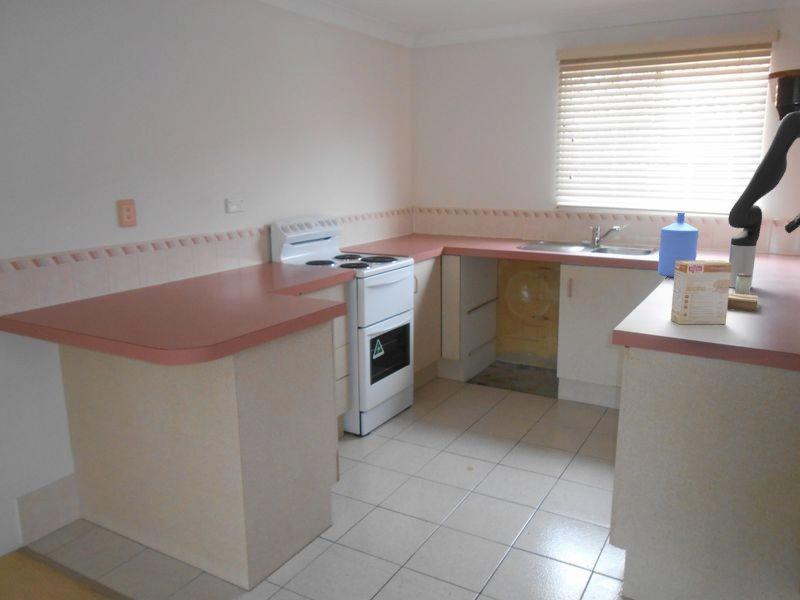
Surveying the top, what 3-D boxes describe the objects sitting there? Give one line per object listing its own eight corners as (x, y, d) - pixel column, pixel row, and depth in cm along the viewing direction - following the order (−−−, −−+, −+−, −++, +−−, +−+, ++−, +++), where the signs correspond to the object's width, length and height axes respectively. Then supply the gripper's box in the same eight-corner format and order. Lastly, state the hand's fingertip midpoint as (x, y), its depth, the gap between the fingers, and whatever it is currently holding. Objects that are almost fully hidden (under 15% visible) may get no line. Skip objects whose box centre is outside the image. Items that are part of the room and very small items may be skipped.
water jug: (698, 278, 290) (704, 214, 284) (660, 277, 293) (665, 214, 287) (690, 273, 305) (695, 212, 299) (654, 271, 308) (659, 211, 302)
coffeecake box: (715, 319, 213) (721, 259, 209) (726, 324, 206) (733, 263, 202) (669, 319, 212) (674, 259, 208) (679, 324, 205) (685, 263, 201)
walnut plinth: (725, 303, 237) (726, 292, 236) (756, 306, 232) (757, 295, 232) (723, 308, 229) (724, 297, 228) (755, 311, 224) (757, 300, 223)
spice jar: (734, 298, 246) (737, 272, 244) (749, 300, 243) (752, 273, 241) (733, 301, 242) (736, 274, 240) (748, 302, 239) (751, 275, 237)
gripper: (820, 188, 226) (778, 220, 233) (823, 190, 213) (778, 223, 221) (837, 204, 224) (793, 236, 232) (840, 207, 212) (795, 240, 220)
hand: (786, 230), depth 226 cm, fingers open, 8 cm apart
